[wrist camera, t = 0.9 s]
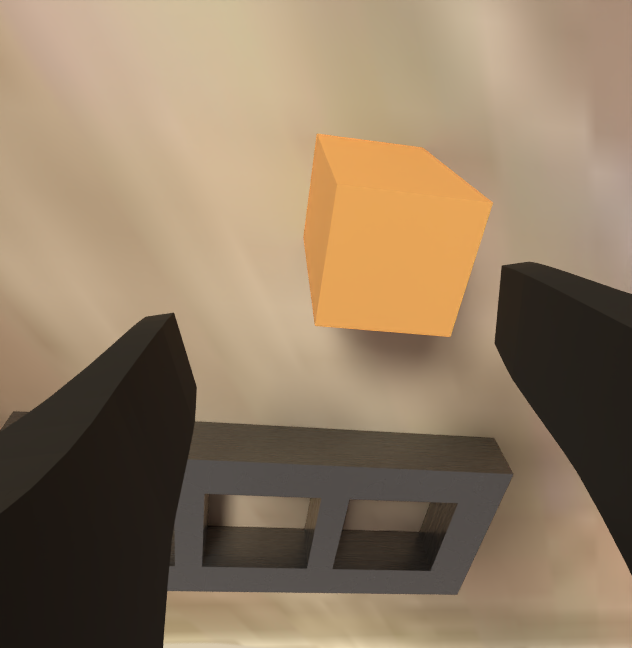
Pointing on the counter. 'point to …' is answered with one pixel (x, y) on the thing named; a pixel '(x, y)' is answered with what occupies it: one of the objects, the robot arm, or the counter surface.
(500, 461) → the gray board with holes
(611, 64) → the counter surface
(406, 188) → the square block
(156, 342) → the robot arm
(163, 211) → the counter surface
